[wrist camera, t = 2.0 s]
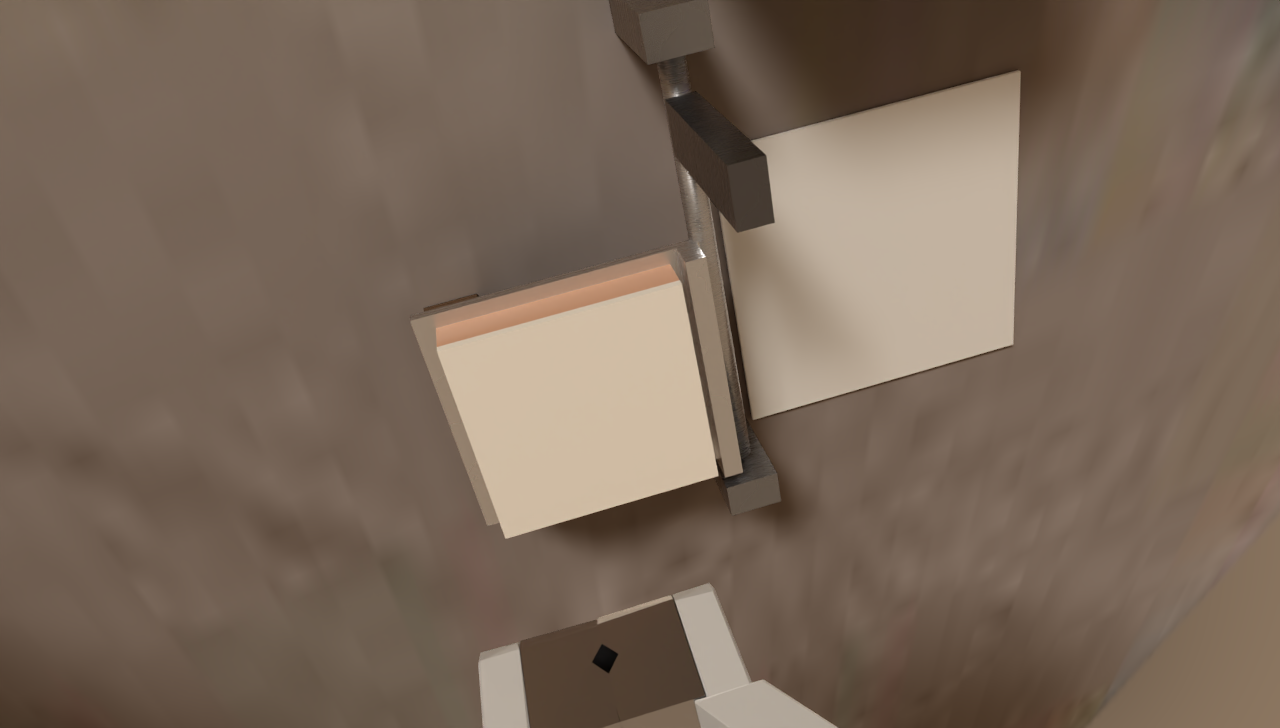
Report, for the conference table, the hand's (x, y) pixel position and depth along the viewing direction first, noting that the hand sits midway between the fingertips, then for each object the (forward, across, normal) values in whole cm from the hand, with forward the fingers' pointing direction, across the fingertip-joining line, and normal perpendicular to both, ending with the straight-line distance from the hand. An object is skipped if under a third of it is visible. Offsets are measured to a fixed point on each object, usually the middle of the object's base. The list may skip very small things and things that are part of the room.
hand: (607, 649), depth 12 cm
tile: (+19, -1, +8) cm, 21 cm away
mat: (+23, -14, +8) cm, 28 cm away
